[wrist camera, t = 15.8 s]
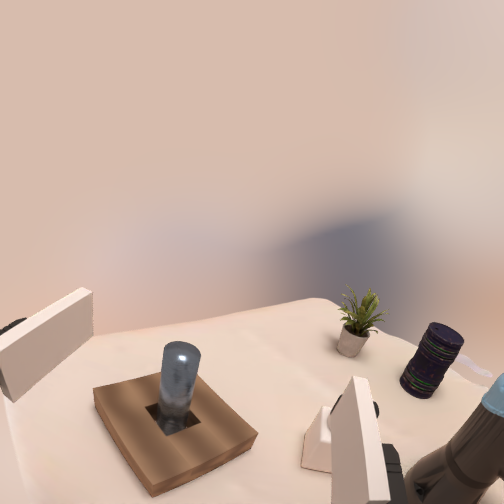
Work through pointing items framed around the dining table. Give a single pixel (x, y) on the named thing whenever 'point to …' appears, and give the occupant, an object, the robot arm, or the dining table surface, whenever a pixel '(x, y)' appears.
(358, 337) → the house plant
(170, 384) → the pin
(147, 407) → the socket block
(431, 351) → the storage jar
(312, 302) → the dining table surface
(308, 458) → the medicine bottle
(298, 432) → the dining table surface
